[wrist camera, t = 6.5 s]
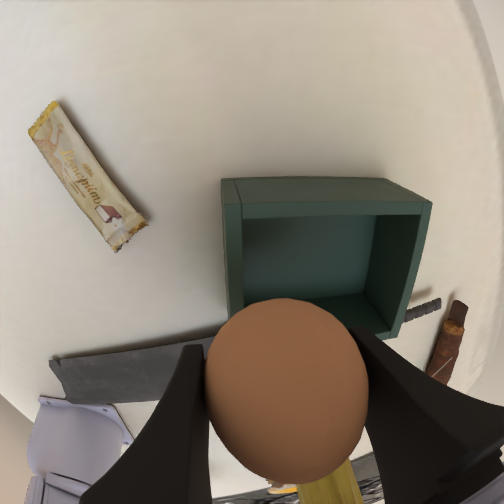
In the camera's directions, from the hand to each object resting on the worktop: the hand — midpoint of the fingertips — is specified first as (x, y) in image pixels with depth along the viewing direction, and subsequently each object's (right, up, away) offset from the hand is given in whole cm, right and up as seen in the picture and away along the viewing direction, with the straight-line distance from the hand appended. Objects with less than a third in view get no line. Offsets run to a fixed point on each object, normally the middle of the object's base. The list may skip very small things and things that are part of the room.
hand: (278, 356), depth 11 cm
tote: (+2, +4, +8) cm, 10 cm away
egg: (0, +1, +2) cm, 2 cm away
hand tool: (+19, -24, +22) cm, 38 cm away
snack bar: (-11, +8, +4) cm, 14 cm away
